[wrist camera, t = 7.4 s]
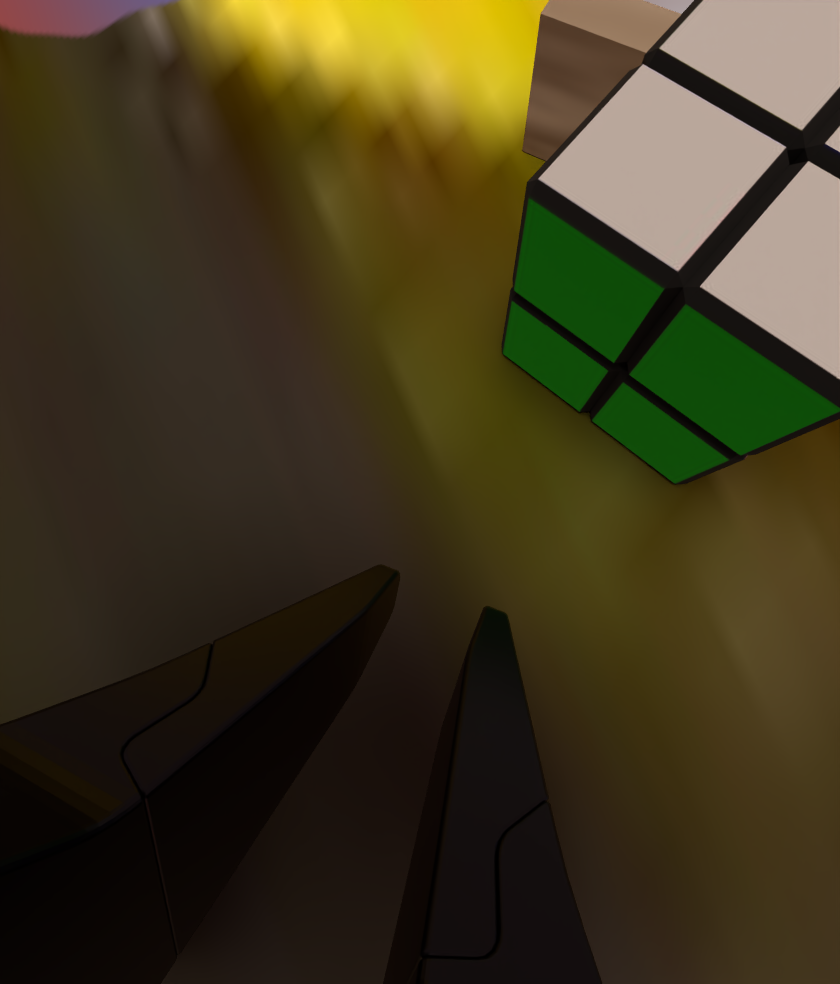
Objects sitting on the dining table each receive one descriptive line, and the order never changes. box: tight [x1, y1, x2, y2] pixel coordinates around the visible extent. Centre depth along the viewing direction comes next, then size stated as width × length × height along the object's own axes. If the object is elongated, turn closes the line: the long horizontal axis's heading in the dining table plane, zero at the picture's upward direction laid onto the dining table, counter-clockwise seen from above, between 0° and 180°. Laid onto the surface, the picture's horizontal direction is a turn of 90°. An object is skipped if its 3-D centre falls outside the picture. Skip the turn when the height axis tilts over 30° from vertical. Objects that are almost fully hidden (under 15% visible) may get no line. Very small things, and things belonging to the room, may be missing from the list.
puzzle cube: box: [502, 0, 840, 484], centre depth 17 cm, size 10×10×10 cm
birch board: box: [523, 0, 681, 161], centre depth 20 cm, size 2×20×6 cm, turn 59°
